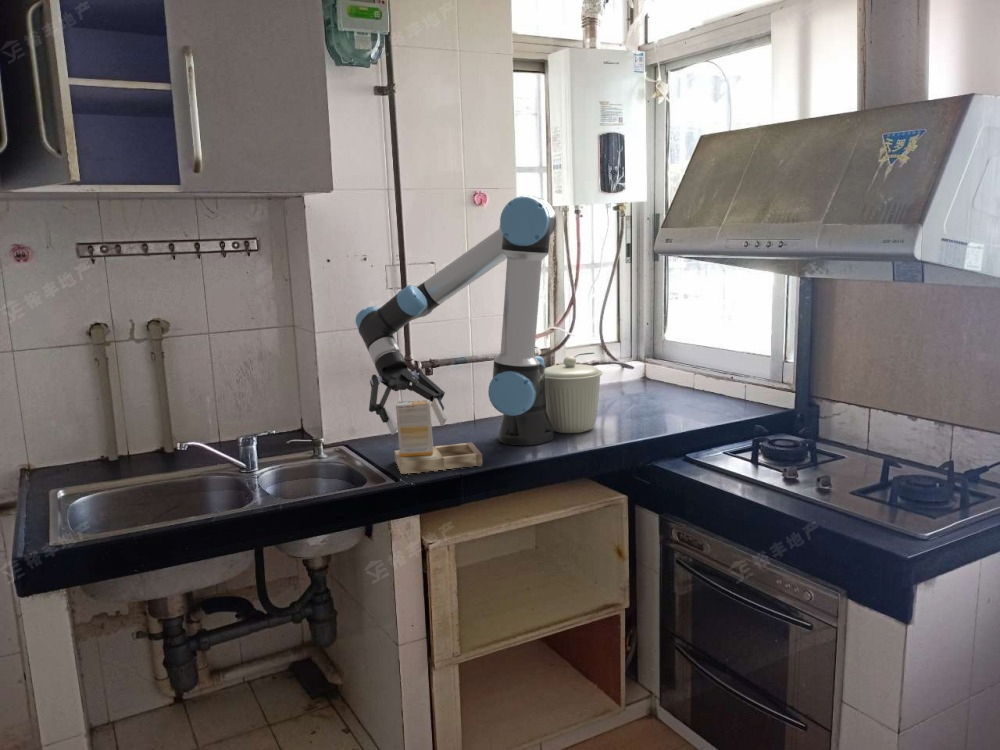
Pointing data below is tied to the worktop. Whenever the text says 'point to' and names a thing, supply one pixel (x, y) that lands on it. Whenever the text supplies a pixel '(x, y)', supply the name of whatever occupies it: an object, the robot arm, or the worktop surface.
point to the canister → (572, 396)
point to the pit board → (440, 459)
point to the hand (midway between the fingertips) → (419, 427)
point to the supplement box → (414, 428)
